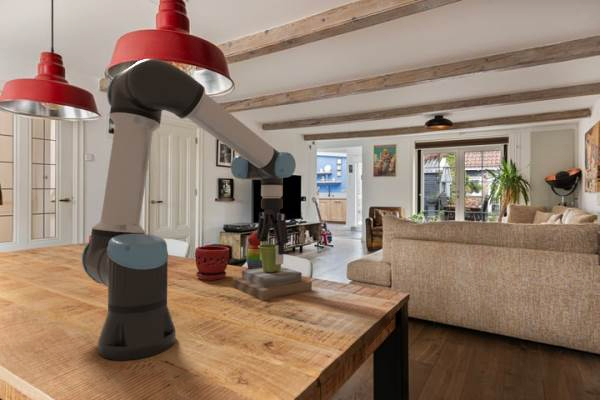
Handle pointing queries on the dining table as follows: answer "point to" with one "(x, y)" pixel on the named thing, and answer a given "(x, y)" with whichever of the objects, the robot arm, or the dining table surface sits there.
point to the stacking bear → (254, 253)
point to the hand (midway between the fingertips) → (271, 261)
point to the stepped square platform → (271, 283)
